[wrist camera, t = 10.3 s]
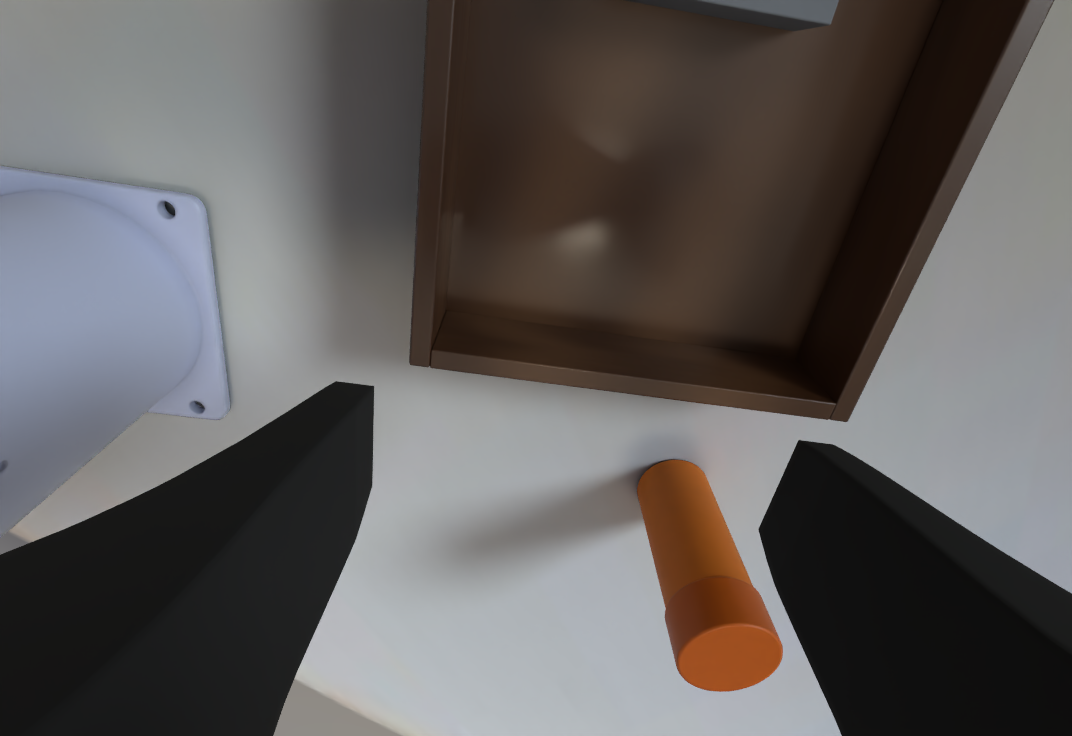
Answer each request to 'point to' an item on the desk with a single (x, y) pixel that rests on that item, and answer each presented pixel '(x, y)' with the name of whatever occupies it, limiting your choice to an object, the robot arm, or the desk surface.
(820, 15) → the eraser
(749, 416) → the desk surface
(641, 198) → the box
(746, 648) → the glue stick
